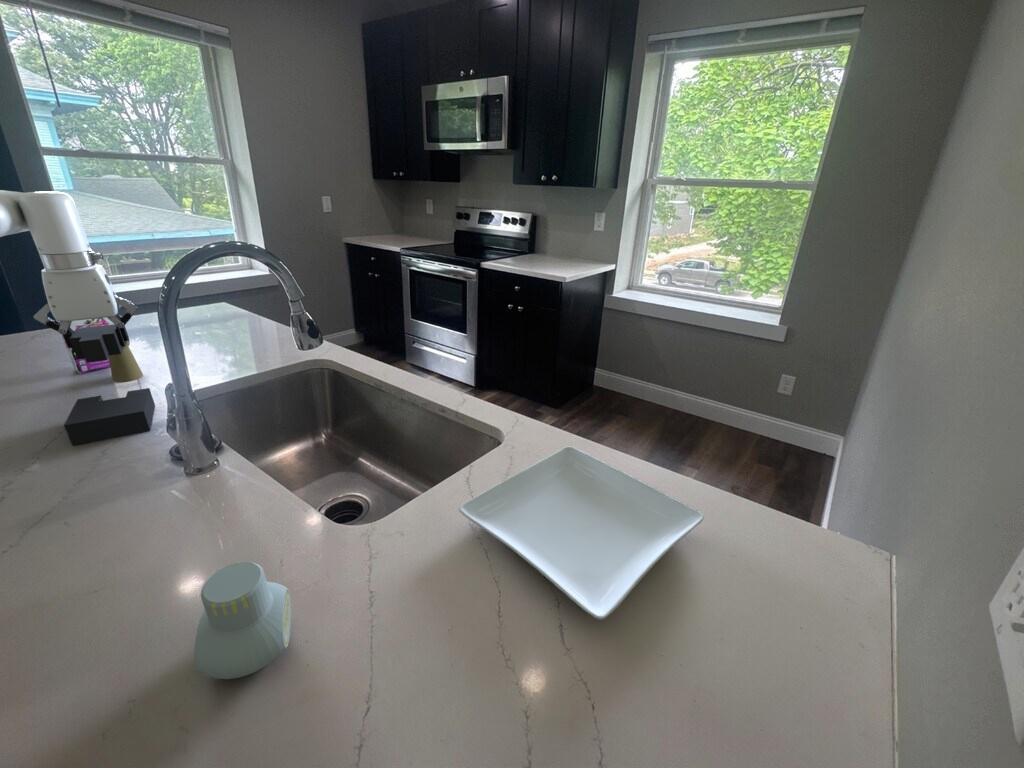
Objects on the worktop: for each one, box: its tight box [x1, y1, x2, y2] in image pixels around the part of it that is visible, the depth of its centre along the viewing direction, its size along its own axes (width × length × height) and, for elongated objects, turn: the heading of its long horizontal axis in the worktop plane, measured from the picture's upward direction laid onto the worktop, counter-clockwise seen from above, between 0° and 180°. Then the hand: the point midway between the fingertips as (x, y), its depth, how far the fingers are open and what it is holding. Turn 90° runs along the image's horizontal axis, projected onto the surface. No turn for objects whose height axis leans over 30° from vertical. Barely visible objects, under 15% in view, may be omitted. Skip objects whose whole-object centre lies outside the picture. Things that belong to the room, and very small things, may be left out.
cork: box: [109, 339, 144, 383], centre depth 114 cm, size 6×6×11 cm
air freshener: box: [193, 561, 292, 680], centre depth 51 cm, size 11×8×10 cm
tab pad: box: [69, 324, 124, 363], centre depth 96 cm, size 7×10×4 cm
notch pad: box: [63, 387, 156, 447], centre depth 95 cm, size 12×12×4 cm
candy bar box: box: [55, 317, 114, 375], centre depth 118 cm, size 11×5×16 cm, turn 144°
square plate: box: [458, 445, 705, 620], centre depth 71 cm, size 27×27×4 cm
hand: (100, 346), depth 97 cm, fingers closed on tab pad, 7 cm apart
